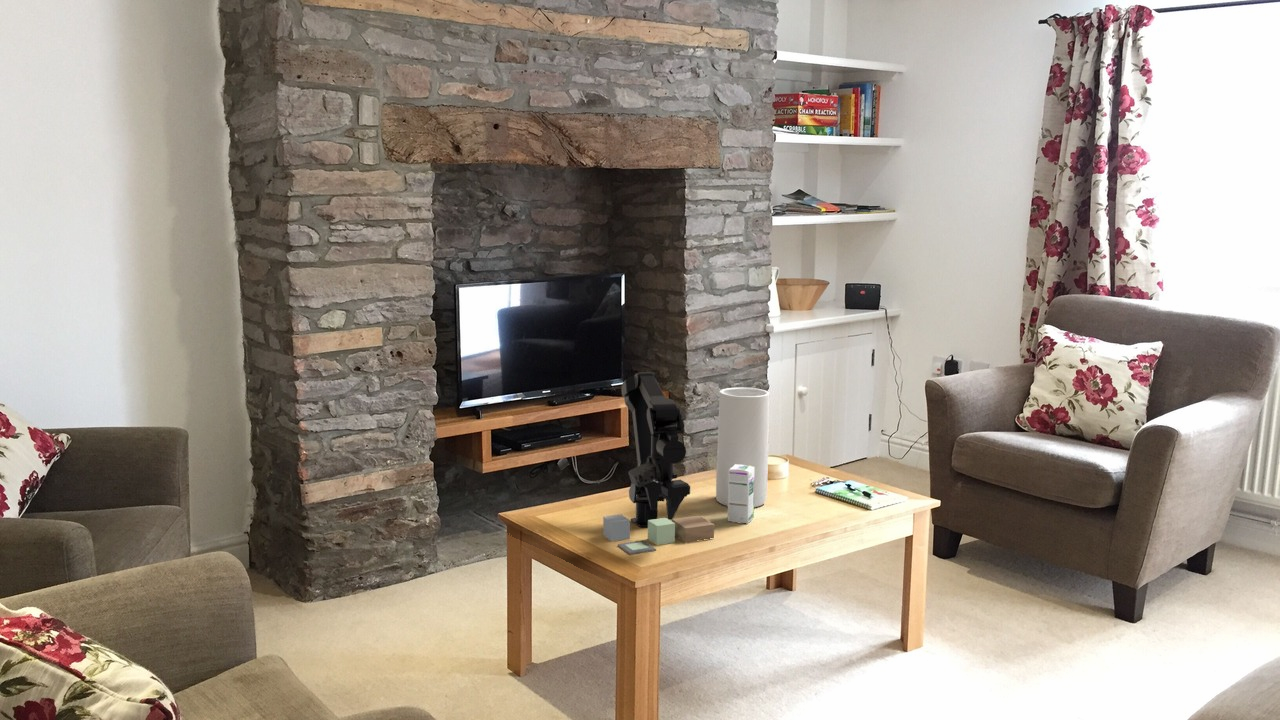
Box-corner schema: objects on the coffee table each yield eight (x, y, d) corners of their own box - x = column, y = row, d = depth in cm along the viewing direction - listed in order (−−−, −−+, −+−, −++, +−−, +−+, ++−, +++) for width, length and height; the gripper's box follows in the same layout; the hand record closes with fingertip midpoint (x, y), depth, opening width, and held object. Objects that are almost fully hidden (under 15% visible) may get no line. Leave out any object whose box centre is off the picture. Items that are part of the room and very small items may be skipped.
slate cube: (603, 535, 261) (603, 516, 260) (621, 533, 263) (621, 514, 262) (611, 541, 256) (611, 522, 255) (629, 539, 258) (629, 519, 258)
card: (617, 545, 253) (617, 543, 253) (643, 541, 256) (643, 539, 256) (630, 554, 247) (630, 552, 247) (656, 550, 250) (656, 548, 250)
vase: (739, 491, 301) (742, 385, 296) (777, 502, 290) (781, 392, 285) (705, 500, 291) (707, 391, 286) (743, 512, 281) (746, 399, 276)
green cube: (647, 539, 258) (647, 520, 258) (665, 536, 261) (665, 517, 260) (656, 545, 254) (657, 526, 253) (674, 542, 256) (675, 523, 255)
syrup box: (748, 524, 271) (749, 471, 269) (726, 521, 273) (728, 468, 271) (753, 518, 276) (755, 465, 274) (732, 515, 278) (734, 463, 276)
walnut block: (671, 534, 263) (671, 519, 263) (699, 530, 267) (699, 515, 266) (685, 543, 256) (685, 528, 255) (713, 539, 259) (714, 524, 259)
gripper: (616, 447, 258) (616, 507, 261) (650, 465, 242) (649, 529, 245) (656, 443, 263) (655, 502, 266) (692, 461, 247) (690, 523, 249)
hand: (661, 514), depth 256 cm, fingers open, 9 cm apart
